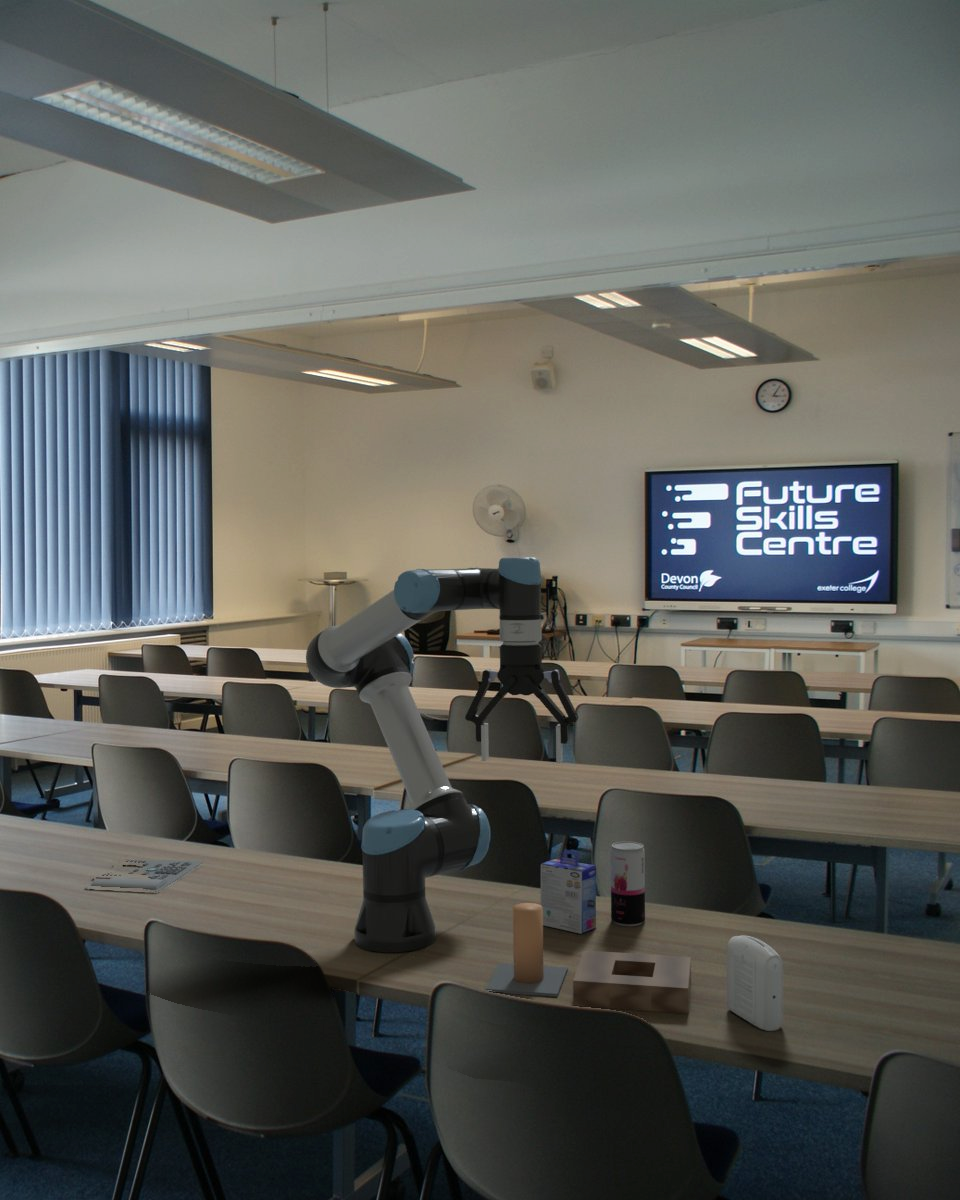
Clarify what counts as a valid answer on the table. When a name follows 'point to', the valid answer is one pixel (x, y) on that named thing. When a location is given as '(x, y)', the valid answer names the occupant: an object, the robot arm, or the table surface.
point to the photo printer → (755, 982)
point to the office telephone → (151, 875)
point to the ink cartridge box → (568, 894)
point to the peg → (528, 942)
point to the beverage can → (627, 883)
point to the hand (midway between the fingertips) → (522, 760)
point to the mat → (546, 987)
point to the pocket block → (633, 981)
